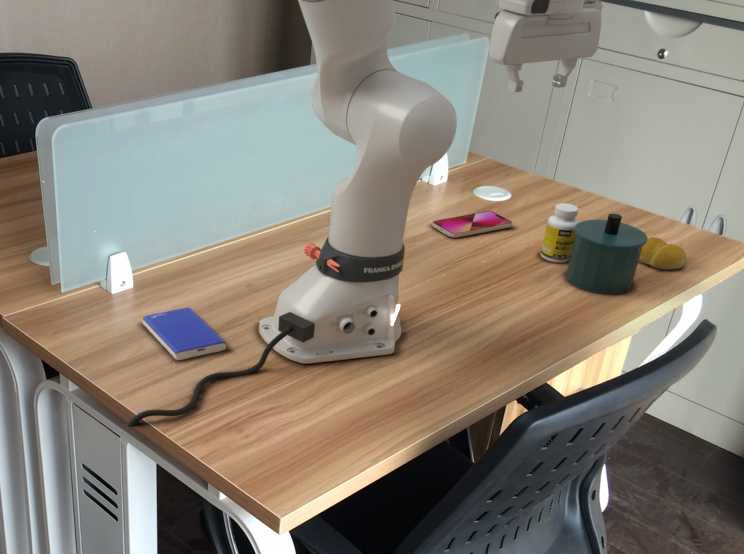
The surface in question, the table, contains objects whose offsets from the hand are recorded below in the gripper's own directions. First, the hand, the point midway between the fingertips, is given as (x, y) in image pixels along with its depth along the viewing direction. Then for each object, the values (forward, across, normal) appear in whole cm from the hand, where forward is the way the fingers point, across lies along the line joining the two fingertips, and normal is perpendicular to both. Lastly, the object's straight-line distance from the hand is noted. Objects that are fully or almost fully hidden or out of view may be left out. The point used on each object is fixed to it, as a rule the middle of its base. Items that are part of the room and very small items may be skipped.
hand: (536, 89), depth 155 cm
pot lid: (+23, -12, +12) cm, 28 cm away
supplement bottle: (+31, -12, +1) cm, 34 cm away
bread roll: (+31, -29, +10) cm, 44 cm away
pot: (+31, -12, +12) cm, 35 cm away
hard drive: (+31, +64, +2) cm, 71 cm away
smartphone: (+31, -7, -17) cm, 36 cm away
